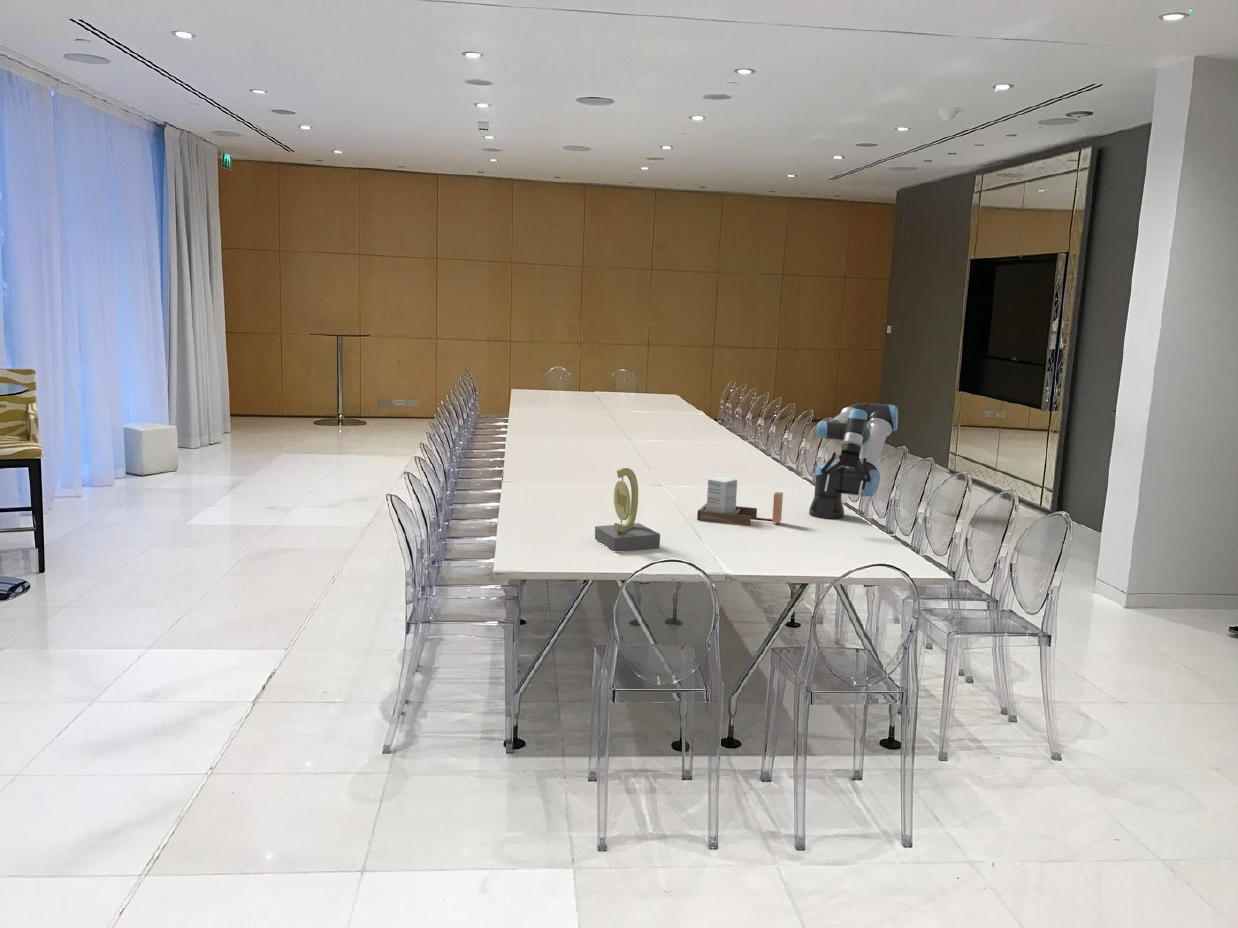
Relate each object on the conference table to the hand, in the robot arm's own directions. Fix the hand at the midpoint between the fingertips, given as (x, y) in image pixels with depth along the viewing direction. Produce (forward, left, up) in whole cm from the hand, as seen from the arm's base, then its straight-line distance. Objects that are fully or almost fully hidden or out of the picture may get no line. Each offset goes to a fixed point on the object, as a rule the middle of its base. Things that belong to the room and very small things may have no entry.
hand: (842, 493), depth 406 cm
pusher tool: (-4, -41, -16) cm, 44 cm away
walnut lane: (-4, -48, -16) cm, 51 cm away
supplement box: (-4, -50, -16) cm, 53 cm away
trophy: (+55, -74, -17) cm, 94 cm away
